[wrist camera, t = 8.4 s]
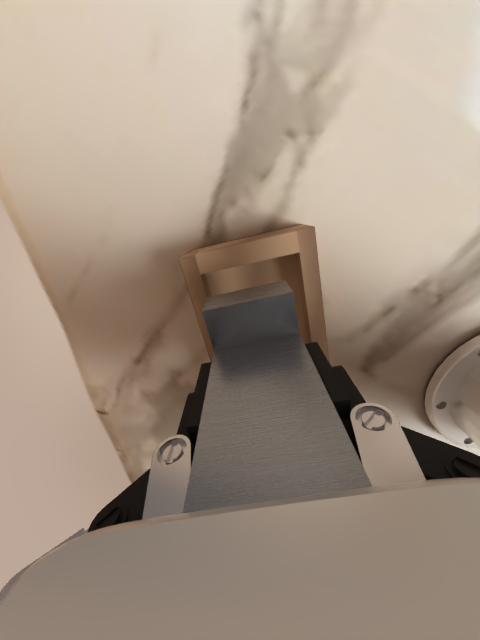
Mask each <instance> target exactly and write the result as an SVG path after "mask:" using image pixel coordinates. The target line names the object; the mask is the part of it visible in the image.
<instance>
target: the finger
mask: <svg viewBox="0 0 480 640" xmlns="http://www.w3.org/2000/svg"><path fill="white" fill-rule="evenodd" d="M202 313H203V317H204V320H205V323H206V326H207V330H208V333H209V336H210V339H211V343H212V346H213V349H214V352H213V358H212V363H211V368H210V373H209V378H208V384H207V389H206V394H205V399H204V404H203V409H202V415H201V420H200V425H199V430H198V435H197V440H196V446H195V451H194V456H193V461H192V466H191V472H190V477H189V482H188V487H187V492H186V497H185V503H184V508H183V513H188V512H195V511H202V510H208V509H215V508H222V507H229V506H236V505H243V504H250V503H257V502H264V501H271V500H278V499H286V498H293V497H300V496H307V495H314V494H322V493H329V492H337V491H344V490H352V489H359V488H367V487H373V486H372V484H371V482H370V480H369V478H368V476H367V474H366V472H365V470H364V467H363V465H362V463H361V461H360V459H359V457H358V455H357V453H356V451H355V449H354V447H353V444H352V442H351V440H350V438H349V436H348V434H347V432H346V430H345V428H344V426H343V423H342V421H341V419H340V417H339V415H338V413H337V411H336V409H335V407H334V405H333V403H332V400H331V398H330V396H329V394H328V392H327V390H326V388H325V386H324V384H323V382H322V379H321V377H320V375H319V373H318V371H317V369H316V367H315V365H314V363H313V361H312V359H311V356H310V354H309V352H308V350H307V348H306V346H305V344H304V342H303V340H302V338H301V335H300V333H299V327H298V320H297V313H296V307H295V300H294V293H293V291H292V289H291V288H290V286H289V284H288V283H287V281H286V280H283V281H278V282H274V283H269V284H265V285H260V286H256V287H251V288H246V289H242V290H237V291H233V292H228V293H223V294H219V295H214V296H210V297H207V299H206V302H205V305H204V307H203V310H202Z"/></svg>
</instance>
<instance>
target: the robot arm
mask: <svg viewBox="0 0 480 640" xmlns="http://www.w3.org/2000/svg"><path fill="white" fill-rule="evenodd" d="M305 346H306V348H307V350H308V352H309V354H310V356H311V359H312V361H313V363H314V365H315V367H316V369H317V371H318V373H319V375H320V377H321V379H322V382H323V384H324V386H325V388H326V390H327V392H328V394H329V396H330V398H331V400H332V403H333V405H334V407H335V409H336V411H337V413H338V415H339V417H340V419H341V421H342V423H343V426H344V428H345V430H346V432H347V434H348V436H349V438H350V440H351V442H352V444H353V447H354V449H355V451H356V453H357V455H358V457H359V459H360V461H361V463H362V465H363V467H364V470H365V472H366V474H367V476H368V478H369V480H370V482H371V484H372V486H373V487H367V488H359V489H352V490H344V491H337V492H329V493H322V494H314V495H307V496H300V497H293V498H286V499H278V500H271V501H264V502H257V503H250V504H243V505H236V506H229V507H222V508H215V509H208V510H202V511H195V512H188V513H183V508H184V503H185V497H186V492H187V487H188V482H189V477H190V472H191V466H192V461H193V456H194V451H195V446H196V440H197V435H198V430H199V425H200V420H201V415H202V409H203V404H204V399H205V394H206V389H207V384H208V378H209V373H210V368H211V363H212V362H210V363H204V364H202V365H201V369H200V372H199V376H198V380H197V384H196V388H195V392H194V393H190V394H189V395H188V397H187V401H186V404H185V408H184V411H183V415H182V418H181V422H180V425H179V428H178V432H177V435H174V436H171V437H169V438H167V439H165V440H164V441H162V442H161V443H160V444H159V445H158V446H157V448H156V449H155V451H154V453H153V456H152V462H151V468H150V469H149V470H148V471H146V472H145V473H144V474H143V475H142V476H141V477H139V478H138V479H137V480H136V481H135V482H134V483H132V484H131V485H130V486H129V487H128V488H126V489H125V490H124V491H123V492H122V493H121V494H119V496H117V497H116V498H115V499H114V500H112V501H111V502H110V503H109V504H108V505H106V506H105V507H104V508H103V509H102V510H101V511H100V512H99V513H98V514H97V516H96V517H95V519H94V520H93V521H92V523H91V525H90V527H89V529H88V530H85V529H84V528H82V529H81V530H80V531H78V532H77V533H75V534H74V535H73V536H71V537H69V538H68V539H66V540H65V541H64V542H62V543H60V544H59V545H58V546H56V547H55V548H54V549H52V550H50V551H49V552H47V553H46V554H44V555H43V556H41V557H40V558H38V559H37V560H36V561H34V562H33V563H31V564H30V565H28V566H27V567H25V568H24V569H22V570H21V571H20V572H19V573H17V574H16V575H15V576H14V577H12V578H11V580H10V581H9V582H8V583H7V584H6V585H5V586H4V587H3V589H2V590H1V592H0V640H480V456H477V455H475V454H473V453H471V452H468V451H465V450H463V449H460V448H457V447H455V446H452V445H450V444H447V443H444V442H442V441H439V440H436V439H434V438H431V437H429V436H426V435H423V434H421V433H418V432H415V431H413V430H410V429H408V428H405V427H402V426H400V424H399V421H398V419H397V417H396V416H395V414H394V413H393V412H392V411H391V410H390V409H388V408H387V407H385V406H383V405H380V404H376V403H366V402H365V400H364V399H363V397H362V395H361V394H360V392H359V391H358V389H357V388H356V386H355V385H354V383H353V382H352V380H351V379H350V377H349V376H348V374H347V372H346V371H345V369H344V368H343V367H342V366H335V367H331V365H330V363H329V362H328V360H327V358H326V356H325V355H324V353H323V351H322V350H321V348H320V346H319V344H318V343H317V342H312V343H307V344H305ZM425 409H426V414H427V416H428V418H429V421H430V422H431V423H432V424H433V426H434V427H435V428H436V429H437V430H438V432H440V433H441V434H442V435H443V436H444V437H445V438H446V439H448V440H450V441H452V442H454V443H456V444H459V445H462V446H465V447H473V448H480V335H478V336H476V337H474V338H472V339H471V340H469V341H468V342H466V343H465V344H463V345H461V346H460V347H459V348H457V349H456V350H455V351H454V352H453V353H452V354H450V355H449V356H448V357H447V358H446V359H445V360H444V361H443V363H442V364H441V365H440V366H439V367H438V368H437V370H436V372H435V373H434V375H433V377H432V378H431V380H430V382H429V385H428V388H427V390H426V395H425Z"/></svg>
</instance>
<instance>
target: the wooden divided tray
mask: <svg viewBox="0 0 480 640" xmlns="http://www.w3.org/2000/svg"><path fill="white" fill-rule="evenodd" d="M179 262H180V265H181V268H182V271H183V274H184V277H185V281H186V284H187V287H188V290H189V293H190V296H191V300H192V303H193V306H194V309H195V312H196V315H197V319H198V322H199V325H200V328H201V331H202V335H203V338H204V341H205V344H206V347H207V350H208V354H209V357H210V360H211V362H212V358H213V352H214V349H213V346H212V343H211V339H210V336H209V333H208V330H207V326H206V323H205V320H204V317H203V313H202V310H203V307H204V305H205V302H206V299H207V297H210V296H214V295H219V294H223V293H228V292H233V291H237V290H242V289H246V288H251V287H256V286H260V285H265V284H269V283H274V282H278V281H283V280H286V281H287V283H288V284H289V286H290V288H291V289H292V291H293V293H294V300H295V307H296V313H297V320H298V327H299V333H300V335H301V338H302V340H303V342H304V344H307V343H312V342H317V343H318V344H319V346H320V348H321V350H322V351H323V353H324V355H325V356H326V358H327V360H328V362H329V357H328V348H327V338H326V329H325V320H324V310H323V301H322V292H321V282H320V273H319V264H318V254H317V245H316V235H315V227H313V226H308V225H303V224H300V225H296V226H292V227H288V228H283V229H279V230H275V231H271V232H266V233H262V234H258V235H254V236H249V237H245V238H241V239H237V240H232V241H228V242H224V243H220V244H216V245H211V246H207V247H203V248H199V249H194V250H190V251H189V252H187V253H186V254H184V255H183V256H182V257H180V258H179Z"/></svg>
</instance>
